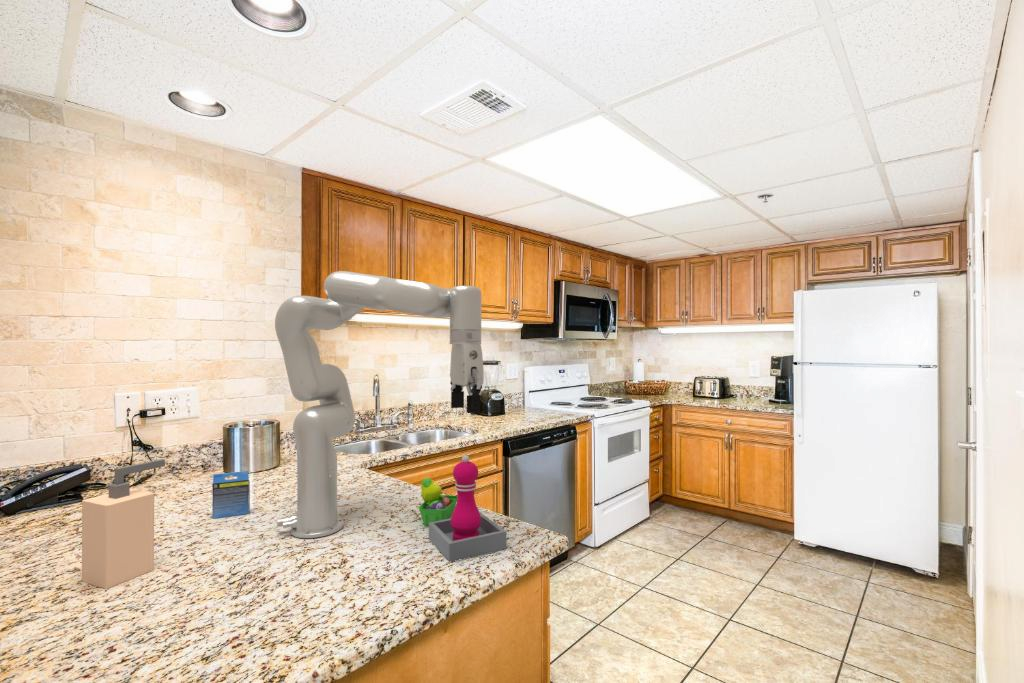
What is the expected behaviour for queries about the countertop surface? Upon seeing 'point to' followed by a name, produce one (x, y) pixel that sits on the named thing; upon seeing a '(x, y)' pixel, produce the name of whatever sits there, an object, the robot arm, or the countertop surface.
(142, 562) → the soap dispenser
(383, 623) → the countertop surface
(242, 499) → the label tape box
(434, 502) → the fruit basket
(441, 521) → the tray
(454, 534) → the pepper mill
